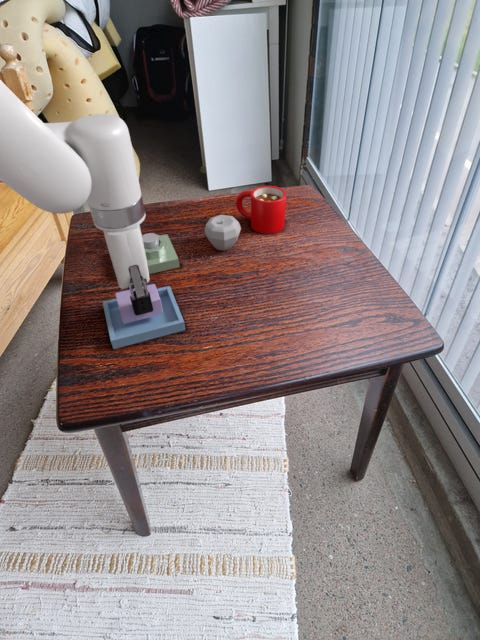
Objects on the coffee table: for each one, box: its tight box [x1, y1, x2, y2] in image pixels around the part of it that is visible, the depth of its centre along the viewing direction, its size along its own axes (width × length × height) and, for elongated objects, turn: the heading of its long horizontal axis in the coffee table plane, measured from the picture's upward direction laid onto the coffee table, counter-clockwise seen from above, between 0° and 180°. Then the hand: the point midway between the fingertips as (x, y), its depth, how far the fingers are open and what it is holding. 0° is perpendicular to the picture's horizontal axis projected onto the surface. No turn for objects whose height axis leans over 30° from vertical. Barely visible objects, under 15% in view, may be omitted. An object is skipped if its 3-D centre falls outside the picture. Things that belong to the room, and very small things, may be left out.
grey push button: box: [142, 232, 159, 249], centre depth 87 cm, size 4×4×2 cm
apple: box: [204, 214, 242, 252], centre depth 90 cm, size 8×8×7 cm
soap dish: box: [102, 285, 186, 350], centre depth 75 cm, size 13×11×2 cm
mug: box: [235, 185, 287, 235], centre depth 97 cm, size 8×12×8 cm, turn 67°
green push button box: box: [145, 233, 181, 275], centre depth 88 cm, size 12×10×4 cm
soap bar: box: [115, 283, 163, 324], centre depth 73 cm, size 7×4×4 cm, turn 111°
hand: (141, 302), depth 73 cm, fingers closed on soap bar, 4 cm apart
